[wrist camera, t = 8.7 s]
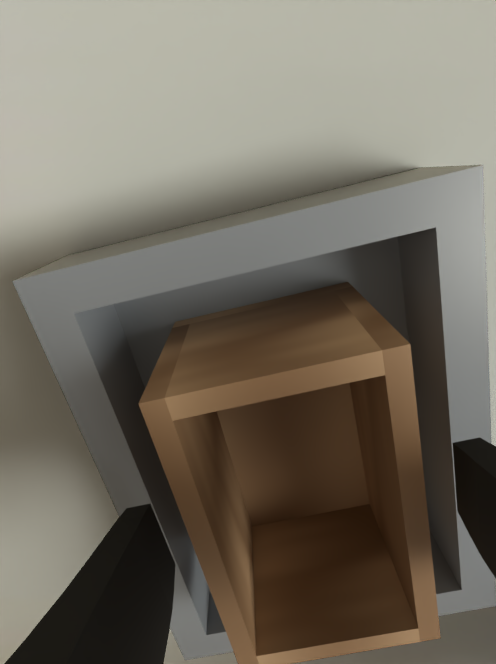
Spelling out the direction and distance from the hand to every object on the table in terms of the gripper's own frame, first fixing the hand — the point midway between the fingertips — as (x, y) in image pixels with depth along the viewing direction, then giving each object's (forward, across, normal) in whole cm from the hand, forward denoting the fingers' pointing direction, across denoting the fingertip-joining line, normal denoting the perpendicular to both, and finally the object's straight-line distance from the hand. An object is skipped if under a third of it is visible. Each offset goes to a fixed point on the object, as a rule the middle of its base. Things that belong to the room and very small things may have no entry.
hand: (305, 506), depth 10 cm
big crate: (+4, 0, 0) cm, 4 cm away
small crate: (+3, 0, 0) cm, 4 cm away
